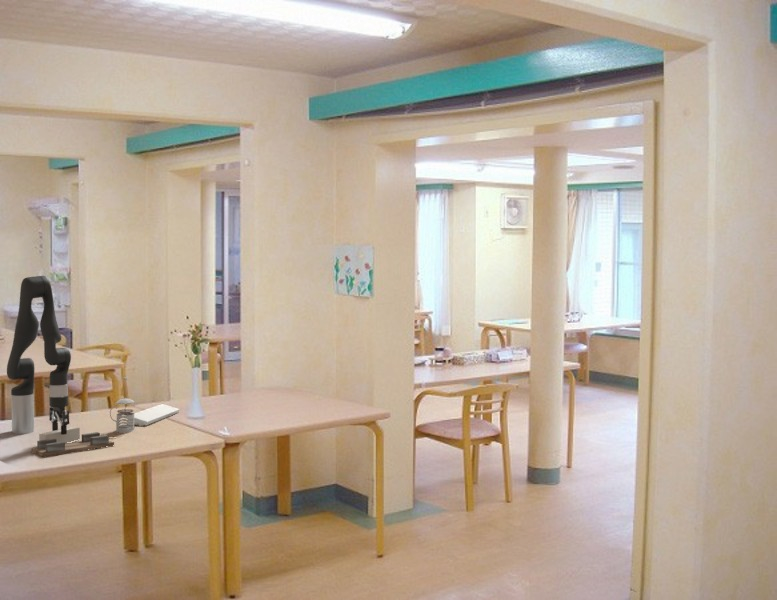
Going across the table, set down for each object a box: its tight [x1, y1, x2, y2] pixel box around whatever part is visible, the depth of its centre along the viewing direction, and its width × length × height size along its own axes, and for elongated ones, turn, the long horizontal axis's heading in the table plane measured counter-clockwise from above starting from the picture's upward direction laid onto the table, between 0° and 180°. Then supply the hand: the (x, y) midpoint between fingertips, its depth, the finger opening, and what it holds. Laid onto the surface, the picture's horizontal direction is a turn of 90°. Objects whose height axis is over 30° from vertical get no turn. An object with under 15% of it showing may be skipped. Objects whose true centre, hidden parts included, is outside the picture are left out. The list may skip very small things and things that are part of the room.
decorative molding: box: [127, 403, 180, 427], centre depth 432 cm, size 34×5×10 cm
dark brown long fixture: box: [31, 431, 115, 458], centre depth 369 cm, size 12×30×4 cm, turn 135°
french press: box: [109, 376, 136, 434], centre depth 404 cm, size 10×12×25 cm
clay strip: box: [38, 426, 81, 443], centre depth 378 cm, size 4×18×6 cm, turn 152°
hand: (59, 432), depth 378 cm, fingers open, 8 cm apart
